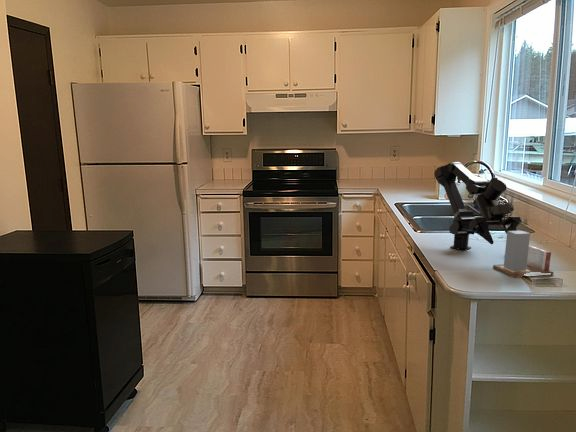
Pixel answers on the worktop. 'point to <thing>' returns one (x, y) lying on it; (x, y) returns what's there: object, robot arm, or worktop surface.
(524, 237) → the tall blue-gray box
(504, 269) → the shelf board
